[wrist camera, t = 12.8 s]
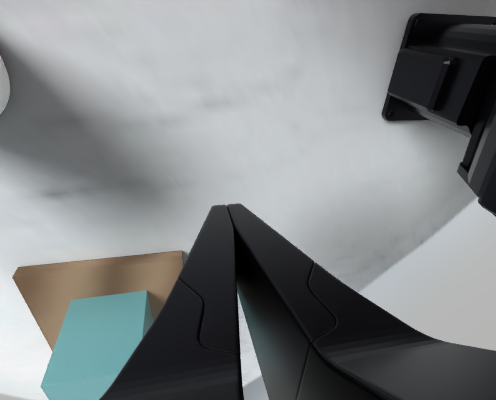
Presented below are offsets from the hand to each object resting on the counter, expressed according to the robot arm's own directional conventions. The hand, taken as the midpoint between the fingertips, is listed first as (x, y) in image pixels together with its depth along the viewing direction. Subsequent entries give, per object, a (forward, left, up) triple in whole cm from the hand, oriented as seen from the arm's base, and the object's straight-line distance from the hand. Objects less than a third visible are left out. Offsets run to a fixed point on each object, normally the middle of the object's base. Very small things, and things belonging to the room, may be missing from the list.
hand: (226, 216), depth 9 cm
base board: (+8, +18, -12) cm, 23 cm away
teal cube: (+8, +18, -11) cm, 22 cm away
